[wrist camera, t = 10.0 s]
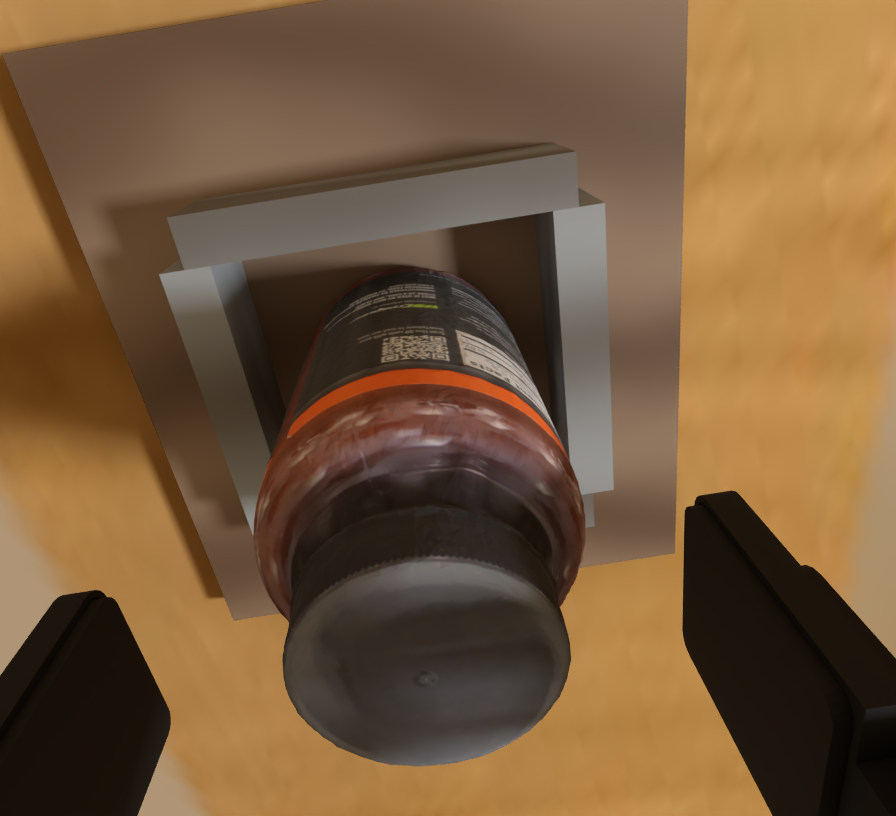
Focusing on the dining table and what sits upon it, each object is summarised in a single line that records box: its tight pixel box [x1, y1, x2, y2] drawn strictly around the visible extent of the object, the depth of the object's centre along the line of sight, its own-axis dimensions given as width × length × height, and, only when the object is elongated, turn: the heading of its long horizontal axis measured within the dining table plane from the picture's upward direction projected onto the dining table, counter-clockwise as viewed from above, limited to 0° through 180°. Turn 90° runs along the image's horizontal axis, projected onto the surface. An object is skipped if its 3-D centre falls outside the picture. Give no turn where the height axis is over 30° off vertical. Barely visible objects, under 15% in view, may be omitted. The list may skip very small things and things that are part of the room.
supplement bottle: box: [253, 267, 586, 766], centre depth 14 cm, size 6×6×11 cm
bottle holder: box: [2, 0, 688, 620], centre depth 18 cm, size 18×16×4 cm
